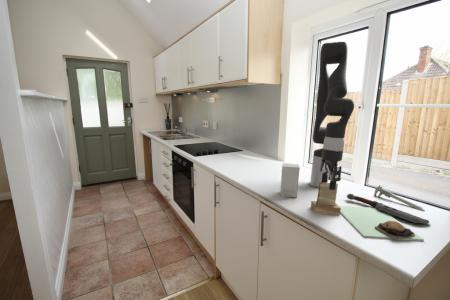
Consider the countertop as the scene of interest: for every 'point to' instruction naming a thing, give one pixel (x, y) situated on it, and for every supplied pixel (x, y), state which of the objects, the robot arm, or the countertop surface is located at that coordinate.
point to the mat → (370, 221)
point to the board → (326, 194)
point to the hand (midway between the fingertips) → (327, 186)
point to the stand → (325, 209)
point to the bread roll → (394, 230)
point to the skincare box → (289, 180)
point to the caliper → (395, 197)
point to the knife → (389, 210)
